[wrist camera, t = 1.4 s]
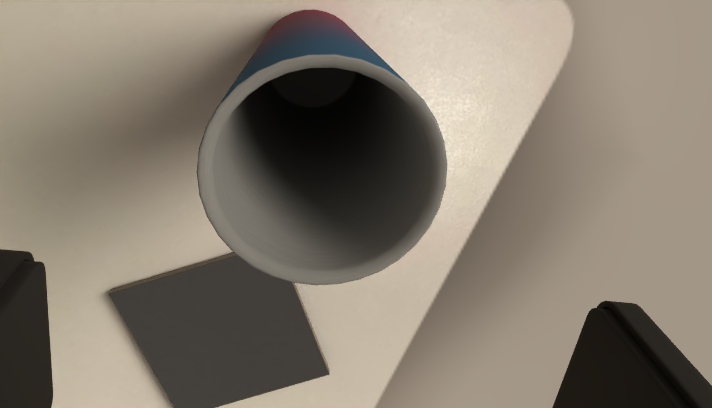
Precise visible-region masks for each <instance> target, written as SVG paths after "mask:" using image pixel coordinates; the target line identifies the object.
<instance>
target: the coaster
mask: <svg viewBox="0 0 712 408" xmlns="http://www.w3.org/2000/svg"><path fill="white" fill-rule="evenodd" d="M109 295H110V297H111V299H112V300H113V302H114V304H115V305H116V307H117V309H118V311H119V312H120V314H121V316H122V318H123V319H124V321H125V323H126V325H127V326H128V328H129V330H130V331H131V333H132V335H133V337H134V338H135V340H136V342H137V344H138V345H139V347H140V349H141V351H142V352H143V354H144V356H145V357H146V359H147V361H148V363H149V364H150V366H151V368H152V370H153V371H154V373H155V375H156V377H157V378H158V380H159V382H160V383H161V385H162V387H163V389H164V390H165V392H166V394H167V396H168V397H169V399H170V401H171V403H172V404H173V406H174V408H215V407H219V406H222V405H226V404H229V403H233V402H236V401H239V400H243V399H246V398H250V397H253V396H257V395H260V394H264V393H267V392H271V391H274V390H277V389H281V388H284V387H288V386H291V385H295V384H298V383H302V382H305V381H309V380H312V379H315V378H319V377H322V376H326V375H329V374H330V373H329V368H328V365H327V363H326V360H325V358H324V355H323V353H322V350H321V348H320V345H319V343H318V340H317V338H316V335H315V333H314V330H313V328H312V325H311V323H310V320H309V318H308V315H307V313H306V310H305V308H304V305H303V303H302V300H301V298H300V295H299V293H298V291H297V288H296V286H295V283H294V282H290V281H287V280H283V279H280V278H277V277H273V276H271V275H269V274H267V273H265V272H263V271H261V270H259V269H257V268H255V267H253V266H251V265H250V264H248V263H247V262H246V261H244V260H243V259H242V258H240V257H239V256H238V255H236V254H235V253H231V254H227V255H224V256H221V257H218V258H214V259H211V260H208V261H204V262H201V263H198V264H194V265H191V266H188V267H184V268H181V269H178V270H174V271H171V272H168V273H164V274H161V275H158V276H154V277H151V278H148V279H144V280H141V281H138V282H134V283H131V284H128V285H124V286H121V287H118V288H114V289H111V291H110V293H109Z"/></svg>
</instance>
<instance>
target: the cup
mask: <svg viewBox="0 0 712 408" xmlns="http://www.w3.org/2000/svg"><path fill="white" fill-rule="evenodd" d="M446 175H447V159H446V151H445V144H444V140H443V137H442V134H441V132H440V129H439V126H438V124H437V121H436V119H435V117H434V116H433V114H432V113H431V111H430V109H429V108H428V106H427V105H426V103H425V101H424V100H423V99H422V98H421V97H420V96H419V95H418V94H417V93H416V92H415V91H414V90H413V89H412V88H411V87H410V86H409V85H408V84H407V83H406V82H405V81H404V80H403V79H402V78H401V77H400V76H399V75H398V74H397V73H396V72H395V71H394V70H393V69H392V68H391V67H390V66H389V65H388V64H387V63H386V62H385V61H384V60H383V59H382V58H381V57H380V56H378V55H377V54H376V53H375V52H374V51H373V50H372V49H371V48H370V47H369V46H368V45H367V44H366V43H365V42H364V41H363V40H362V39H361V38H360V37H359V36H358V35H357V34H356V33H355V32H354V31H353V30H352V29H351V28H350V27H348V26H347V25H346V24H345V23H344V22H343V21H342V20H340V19H339V18H337V17H336V16H334V15H332V14H329V13H327V12H323V11H318V10H303V11H298V12H294V13H292V14H290V15H288V16H285V17H284V18H283V19H281V20H280V21H279V22H277V23H276V24H275V25H274V27H273V28H272V29H271V30H270V31H269V33H268V34H267V36H266V37H265V39H264V40H263V41H262V43H261V44H260V46H259V47H258V49H257V50H256V52H255V53H254V55H253V56H252V57H251V59H250V60H249V62H248V63H247V65H246V66H245V68H244V69H243V71H242V72H241V73H240V75H239V76H238V78H237V79H236V81H235V82H234V84H233V85H232V87H231V88H230V89H229V91H228V92H227V94H226V95H225V97H224V98H223V100H222V101H221V103H220V104H219V106H218V107H217V109H216V111H215V112H214V114H213V116H212V118H211V119H210V121H209V123H208V124H207V126H206V129H205V132H204V135H203V138H202V141H201V145H200V148H199V155H198V165H197V177H198V186H199V194H200V198H201V200H202V203H203V206H204V209H205V212H206V215H207V217H208V219H209V221H210V222H211V224H212V226H213V227H214V229H215V231H216V232H217V234H218V236H219V237H220V238H221V239H222V240H223V241H224V242H225V243H226V245H227V246H228V247H229V248H230V249H231V250H232V251H233V252H234V253H235V254H236V255H238V256H239V257H240V258H242V259H243V260H244V261H246V262H247V263H248V264H250V265H251V266H253V267H255V268H257V269H259V270H261V271H263V272H265V273H267V274H269V275H271V276H273V277H277V278H280V279H283V280H287V281H290V282H294V283H302V284H310V285H329V284H341V283H345V282H350V281H354V280H359V279H362V278H364V277H367V276H369V275H372V274H374V273H377V272H379V271H381V270H383V269H385V268H386V267H388V266H390V265H391V264H393V263H394V262H396V261H398V260H399V259H401V258H402V257H403V256H404V255H405V254H406V253H407V252H408V251H410V250H411V249H412V248H413V247H414V246H415V245H416V244H417V243H418V242H419V240H420V239H421V238H422V236H423V235H424V234H425V233H426V231H427V230H428V229H429V227H430V226H431V224H432V222H433V220H434V218H435V216H436V214H437V212H438V210H439V208H440V205H441V201H442V198H443V194H444V190H445V187H446Z"/></svg>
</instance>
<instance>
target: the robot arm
mask: <svg viewBox="0 0 712 408" xmlns="http://www.w3.org/2000/svg"><path fill="white" fill-rule="evenodd" d="M52 400H53V384H52V368H51V352H50V335H49V319H48V303H47V287H46V271H45V266H44V264H43V263H42V262H35V261H34V258H33V256H32V254H31V253H30V252H25V251H13V250H1V249H0V408H51V406H52ZM553 408H712V386H711V385H710V384H709V382H708V381H707V380H706V379H705V378H704V377H703V376H702V375H701V374H700V372H699V371H698V370H697V369H696V368H695V367H694V366H693V365H692V364H691V363H690V361H688V360H687V358H686V357H685V356H684V355H683V354H682V353H681V351H680V350H679V349H678V348H677V347H676V346H675V345H674V344H673V343H672V342H671V340H670V339H669V338H668V337H667V336H666V335H665V334H664V333H663V332H662V330H661V329H660V328H659V327H658V326H657V325H656V324H655V323H654V322H653V321H652V320H651V318H650V317H649V316H648V315H647V314H646V313H645V312H644V311H643V309H641V307H639V306H638V305H637V304H633V303H622V302H611V301H604V302H601V303H600V304H599V305H598V306H597V308H594V309H591V310H590V311H589V313H588V315H587V317H586V320H585V323H584V325H583V328H582V331H581V333H580V336H579V339H578V342H577V344H576V347H575V349H574V352H573V355H572V357H571V360H570V363H569V366H568V368H567V371H566V373H565V376H564V379H563V381H562V384H561V387H560V389H559V392H558V395H557V397H556V400H555V403H554V405H553Z"/></svg>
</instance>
